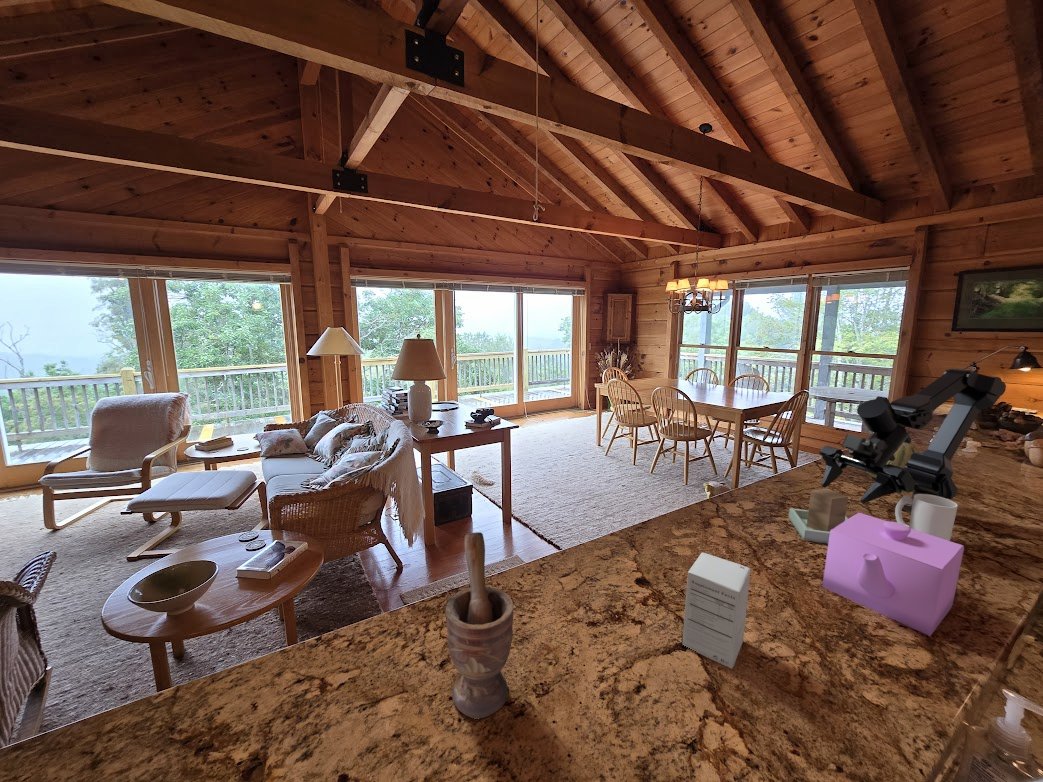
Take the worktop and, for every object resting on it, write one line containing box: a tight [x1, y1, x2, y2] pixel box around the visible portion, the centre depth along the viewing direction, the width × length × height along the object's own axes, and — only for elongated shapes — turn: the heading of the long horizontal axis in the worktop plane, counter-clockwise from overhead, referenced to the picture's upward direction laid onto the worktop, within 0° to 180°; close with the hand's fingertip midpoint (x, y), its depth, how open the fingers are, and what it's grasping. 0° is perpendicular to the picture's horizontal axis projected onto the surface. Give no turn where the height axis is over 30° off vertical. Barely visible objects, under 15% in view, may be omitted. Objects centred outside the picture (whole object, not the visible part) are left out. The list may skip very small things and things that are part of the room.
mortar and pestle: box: [445, 531, 514, 720], centre depth 57 cm, size 12×9×20 cm
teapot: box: [821, 512, 965, 637], centre depth 76 cm, size 15×25×14 cm, turn 124°
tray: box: [788, 507, 849, 545], centre depth 101 cm, size 12×12×2 cm
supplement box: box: [682, 551, 752, 669], centre depth 65 cm, size 7×7×13 cm
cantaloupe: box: [866, 442, 920, 479], centre depth 132 cm, size 15×15×15 cm
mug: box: [894, 494, 959, 541], centre depth 93 cm, size 10×7×12 cm, turn 18°
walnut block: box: [807, 487, 849, 532], centre depth 100 cm, size 5×5×9 cm
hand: (841, 494), depth 100 cm, fingers open, 9 cm apart
